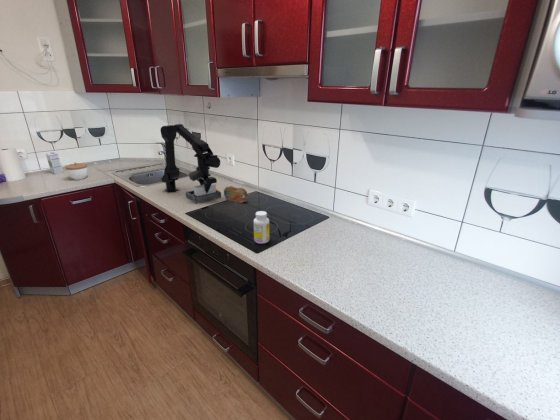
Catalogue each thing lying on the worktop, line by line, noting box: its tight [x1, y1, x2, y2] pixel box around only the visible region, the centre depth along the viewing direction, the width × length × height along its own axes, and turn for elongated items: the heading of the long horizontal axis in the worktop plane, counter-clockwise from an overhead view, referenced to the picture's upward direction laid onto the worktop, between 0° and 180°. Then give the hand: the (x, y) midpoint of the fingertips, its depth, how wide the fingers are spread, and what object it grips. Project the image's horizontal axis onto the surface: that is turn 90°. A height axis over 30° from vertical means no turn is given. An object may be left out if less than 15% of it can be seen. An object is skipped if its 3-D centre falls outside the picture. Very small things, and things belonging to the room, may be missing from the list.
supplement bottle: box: [253, 210, 270, 244], centre depth 126 cm, size 7×7×13 cm
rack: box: [185, 188, 222, 204], centre depth 175 cm, size 13×16×4 cm
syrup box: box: [45, 151, 64, 175], centre depth 215 cm, size 6×6×14 cm
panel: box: [193, 183, 217, 196], centre depth 172 cm, size 4×12×5 cm, turn 130°
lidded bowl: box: [64, 162, 89, 181], centre depth 205 cm, size 13×13×11 cm
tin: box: [223, 185, 249, 204], centre depth 170 cm, size 15×3×8 cm, turn 62°
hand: (205, 191), depth 172 cm, fingers closed on panel, 3 cm apart
